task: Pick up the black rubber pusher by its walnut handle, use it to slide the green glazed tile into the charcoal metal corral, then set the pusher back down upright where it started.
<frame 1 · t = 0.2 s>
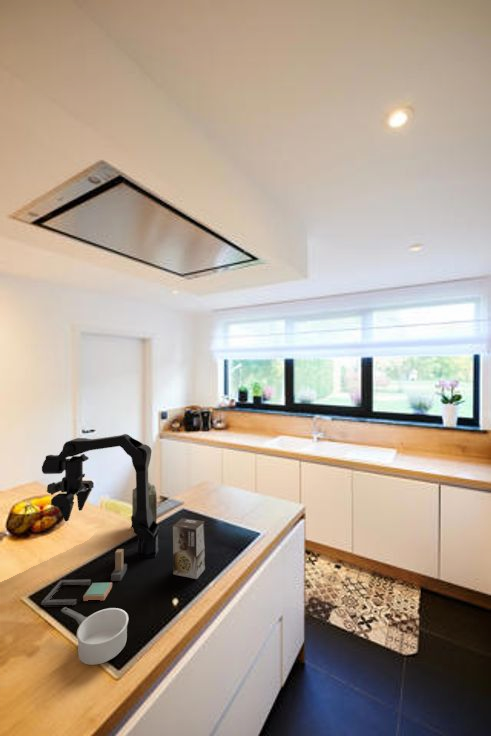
hand: (73, 515, 117), 14 cm above the worktop, tool pointing down, fingers open, 9 cm apart
tile: (98, 595, 96), on the worktop
pusher: (119, 575, 105), on the worktop
corral: (68, 594, 95), on the worktop
saucepan: (90, 643, 78), on the worktop
coffee box: (189, 572, 106), on the worktop
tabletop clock: (143, 530, 136), on the worktop
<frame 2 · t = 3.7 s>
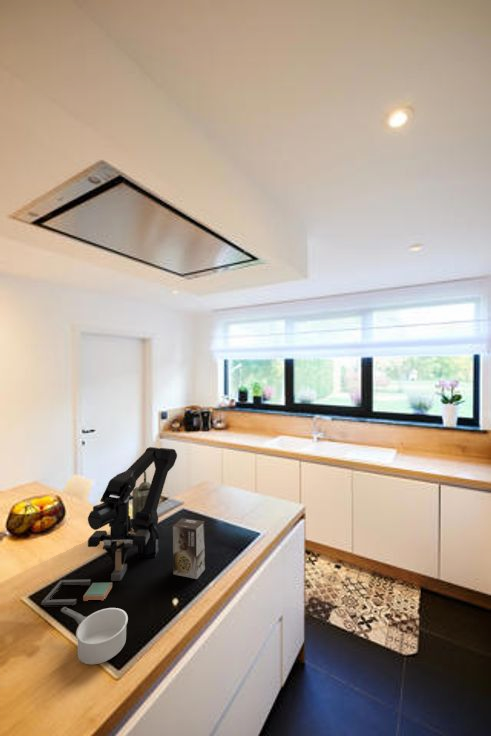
hand: (119, 564, 105), 4 cm above the worktop, tool pointing down, fingers closed on pusher, 2 cm apart
pusher: (119, 575, 105), on the worktop, touching gripper
everything else where it was.
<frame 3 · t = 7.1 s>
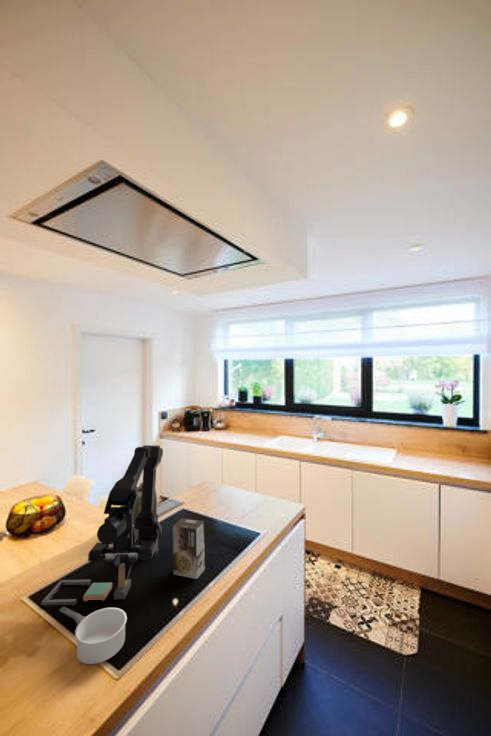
hand: (122, 579, 96), 4 cm above the worktop, tool pointing down, fingers closed on pusher, 2 cm apart
pusher: (122, 592, 96), on the worktop, touching gripper
everything else where it was.
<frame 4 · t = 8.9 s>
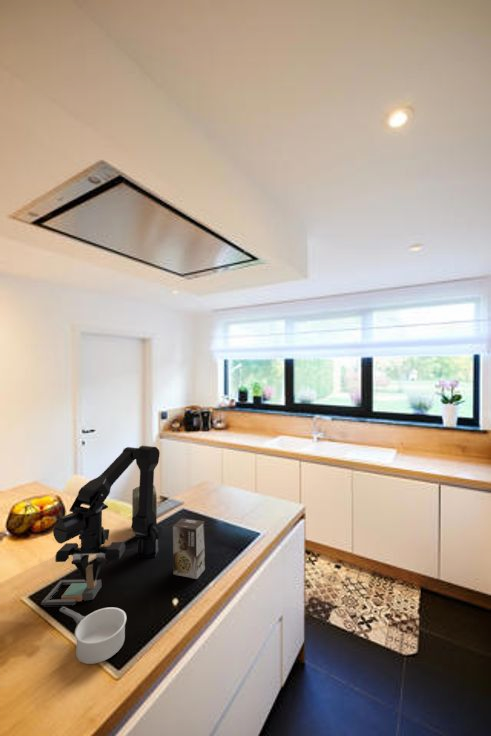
hand: (91, 580, 96), 4 cm above the worktop, tool pointing down, fingers closed on pusher, 2 cm apart
tile: (76, 595, 95), on the worktop, touching pusher
pusher: (92, 593, 96), on the worktop, tilted 5°, touching gripper, tile
everything else where it was.
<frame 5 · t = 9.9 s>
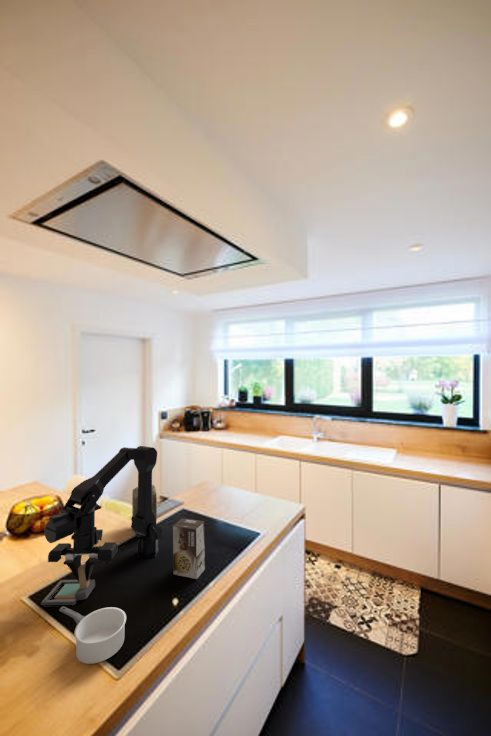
hand: (83, 580, 96), 4 cm above the worktop, tool pointing down, fingers closed on pusher, 2 cm apart
tile: (70, 596, 95), on the worktop
pusher: (85, 592, 96), on the worktop, tilted 8°, touching gripper
everything else where it was.
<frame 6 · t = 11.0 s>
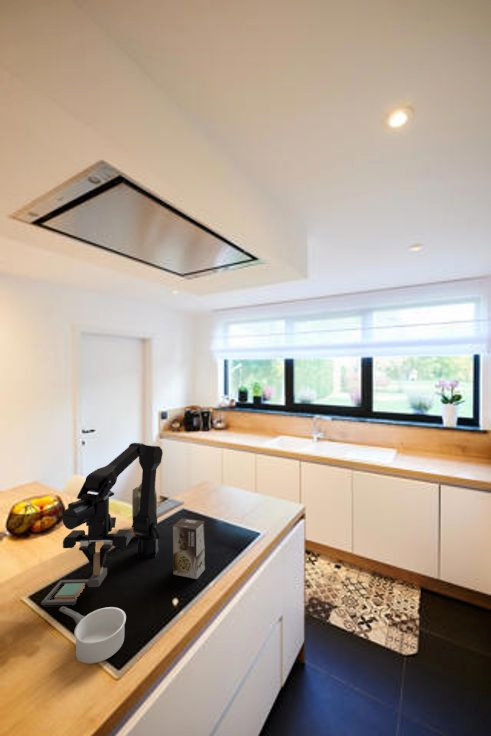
hand: (98, 566, 96), 8 cm above the worktop, tool pointing down, fingers closed on pusher
pusher: (98, 580, 96), point 4 cm above the worktop, touching gripper
everything else where it was.
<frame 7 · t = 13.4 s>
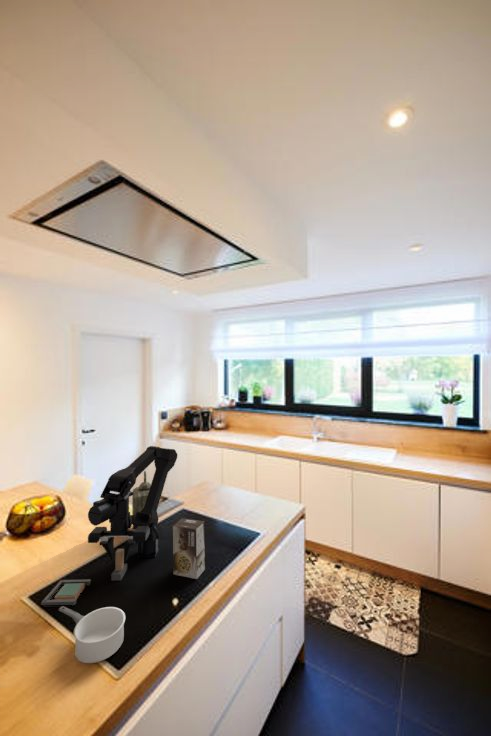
hand: (119, 560, 105), 5 cm above the worktop, tool pointing down, fingers open, 4 cm apart
pusher: (119, 574, 105), on the worktop
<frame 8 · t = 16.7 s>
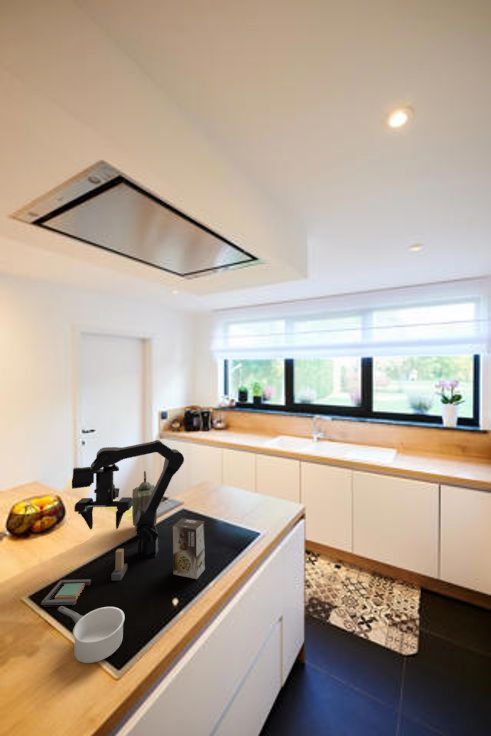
hand: (104, 528, 112), 12 cm above the worktop, tool pointing down, fingers open, 9 cm apart
at the end: tile 0.1 cm off-centre on the corral, point -0.5 cm above the corral's base; the gripper is holding nothing; pusher tilted 0° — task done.
